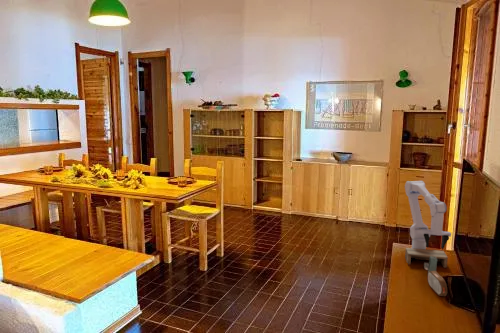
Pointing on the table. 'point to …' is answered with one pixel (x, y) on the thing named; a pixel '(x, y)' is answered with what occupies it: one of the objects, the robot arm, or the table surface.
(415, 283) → the table surface
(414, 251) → the grey bridge block
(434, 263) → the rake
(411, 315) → the table surface
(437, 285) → the tin
